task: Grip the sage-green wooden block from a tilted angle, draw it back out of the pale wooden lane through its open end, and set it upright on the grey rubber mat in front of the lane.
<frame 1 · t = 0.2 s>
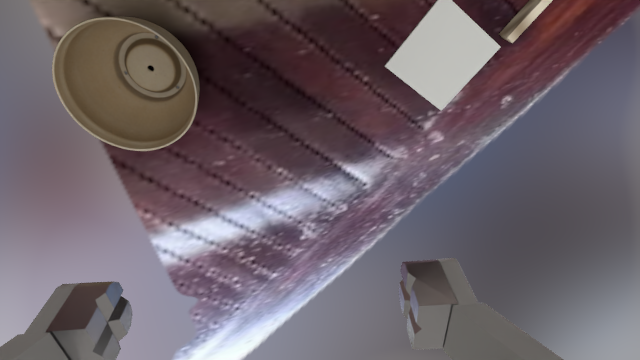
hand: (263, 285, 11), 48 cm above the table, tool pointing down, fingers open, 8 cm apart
mat: (441, 56, 55), on the table
planter bowl: (155, 65, 54), on the table
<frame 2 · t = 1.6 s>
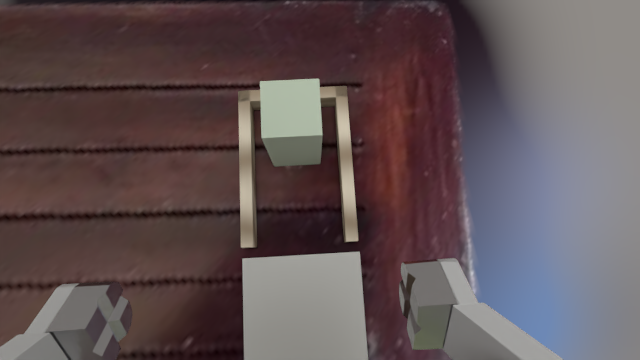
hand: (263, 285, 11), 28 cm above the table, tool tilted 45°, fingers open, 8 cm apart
mat: (304, 316, 38), on the table
lane: (296, 160, 41), on the table
block: (296, 143, 41), resting in lane
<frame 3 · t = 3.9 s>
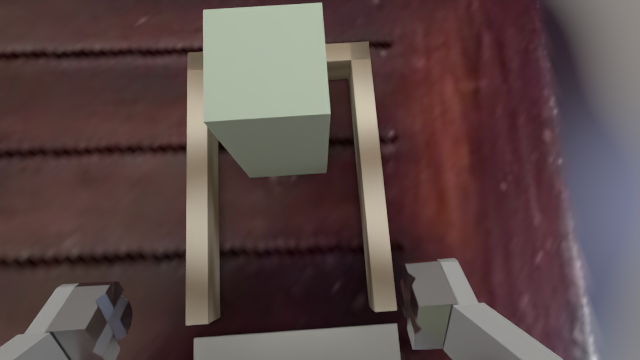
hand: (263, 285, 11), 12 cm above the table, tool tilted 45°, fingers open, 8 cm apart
lane: (287, 167, 25), on the table
block: (286, 138, 25), resting in lane
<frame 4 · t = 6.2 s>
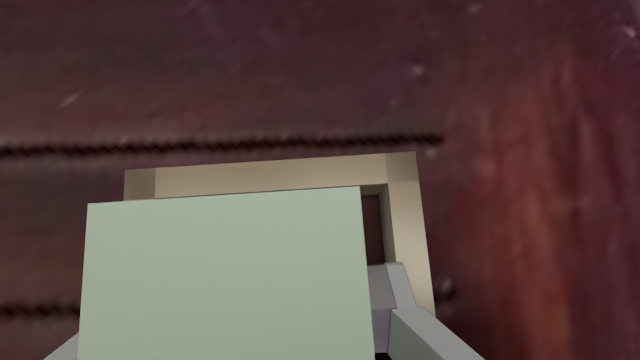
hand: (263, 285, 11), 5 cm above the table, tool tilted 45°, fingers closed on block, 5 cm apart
lane: (284, 343, 16), on the table
block: (283, 293, 16), resting in lane, touching gripper
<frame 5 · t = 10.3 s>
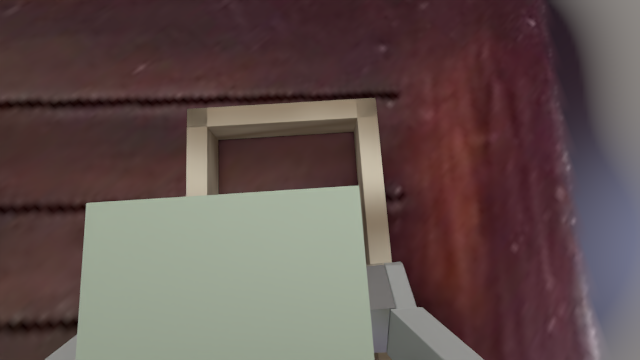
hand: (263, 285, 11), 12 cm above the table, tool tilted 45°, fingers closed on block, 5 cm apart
lane: (290, 226, 24), on the table
block: (283, 293, 16), point 7 cm above the table, touching gripper
when the fingers open (7 cm above the table, at t = 14.2 s): block drops 1 cm, resting on mat.
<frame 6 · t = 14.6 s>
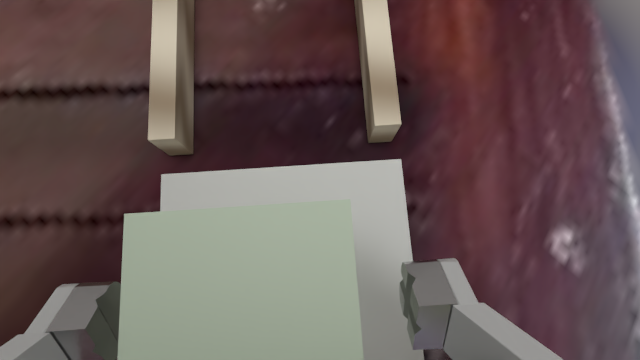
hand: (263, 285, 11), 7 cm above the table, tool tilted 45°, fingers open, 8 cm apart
mat: (287, 290, 18), on the table
block: (285, 291, 18), resting on mat
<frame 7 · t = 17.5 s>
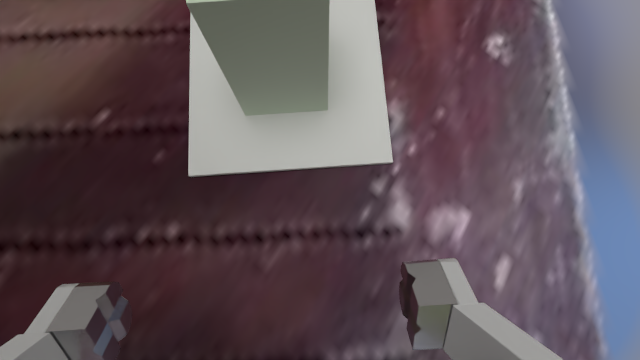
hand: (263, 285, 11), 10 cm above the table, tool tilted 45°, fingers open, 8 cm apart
mat: (286, 78, 24), on the table
block: (284, 75, 23), resting on mat
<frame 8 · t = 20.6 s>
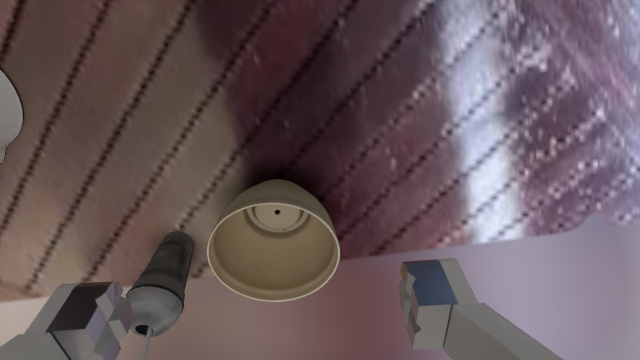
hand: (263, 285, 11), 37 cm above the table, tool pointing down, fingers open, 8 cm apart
planter bowl: (278, 204, 55), on the table
beverage cup: (179, 242, 58), on the table
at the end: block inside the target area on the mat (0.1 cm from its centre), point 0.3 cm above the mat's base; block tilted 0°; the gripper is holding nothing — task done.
